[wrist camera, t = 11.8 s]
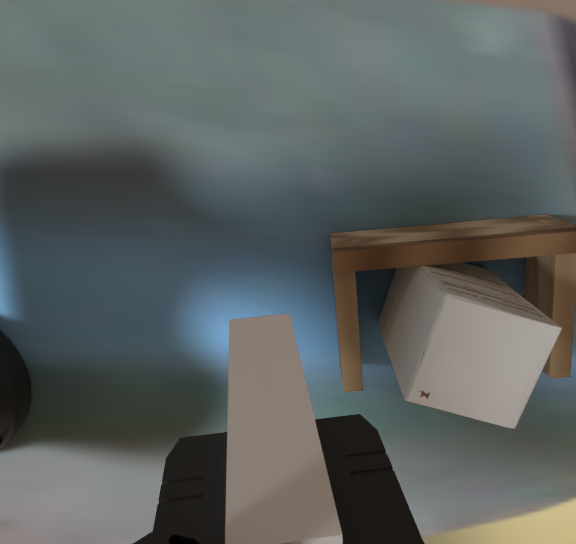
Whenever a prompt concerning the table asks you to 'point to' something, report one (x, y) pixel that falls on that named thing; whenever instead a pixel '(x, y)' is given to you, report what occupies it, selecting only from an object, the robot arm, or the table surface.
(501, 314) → the supplement box
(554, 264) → the brown wooden frame
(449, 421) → the table surface
